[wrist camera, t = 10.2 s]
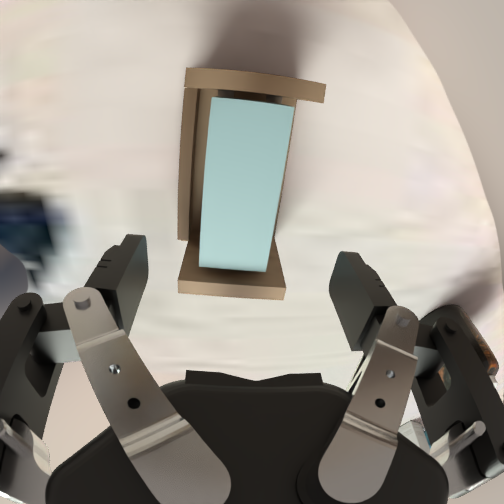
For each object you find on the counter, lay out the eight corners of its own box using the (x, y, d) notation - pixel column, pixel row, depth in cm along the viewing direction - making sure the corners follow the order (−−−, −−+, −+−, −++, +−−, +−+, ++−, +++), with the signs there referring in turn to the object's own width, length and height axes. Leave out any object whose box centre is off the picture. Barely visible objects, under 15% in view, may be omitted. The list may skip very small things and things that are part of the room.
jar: (450, 291, 36) (502, 365, 23) (469, 319, 40) (510, 382, 27) (393, 342, 40) (429, 422, 27) (421, 361, 44) (451, 427, 32)
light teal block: (203, 240, 25) (198, 266, 22) (216, 96, 19) (211, 97, 16) (261, 245, 26) (265, 272, 22) (284, 104, 20) (294, 107, 16)
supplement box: (383, 435, 63) (396, 480, 50) (410, 419, 60) (426, 465, 47) (395, 437, 66) (408, 478, 53) (421, 423, 63) (436, 464, 50)
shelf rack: (182, 235, 29) (165, 291, 22) (191, 75, 21) (169, 67, 14) (271, 242, 30) (283, 300, 22) (296, 86, 22) (326, 84, 15)
